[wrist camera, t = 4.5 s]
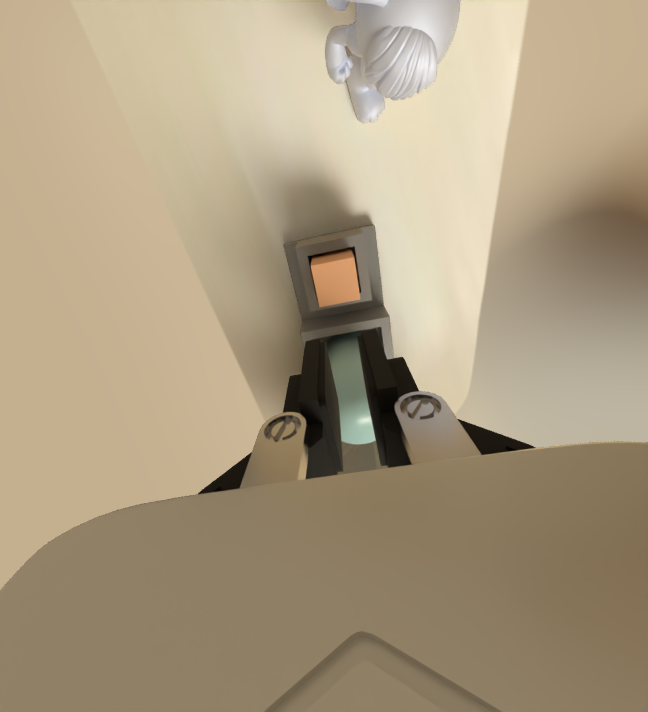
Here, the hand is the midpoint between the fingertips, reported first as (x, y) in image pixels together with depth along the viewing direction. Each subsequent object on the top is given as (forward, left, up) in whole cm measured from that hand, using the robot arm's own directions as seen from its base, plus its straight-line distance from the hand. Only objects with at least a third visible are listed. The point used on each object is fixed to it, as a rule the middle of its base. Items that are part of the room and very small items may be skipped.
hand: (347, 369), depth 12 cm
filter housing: (-2, -3, -19) cm, 19 cm away
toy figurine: (+12, +8, -19) cm, 24 cm away
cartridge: (-5, -7, -18) cm, 20 cm away
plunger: (0, 0, -18) cm, 18 cm away
